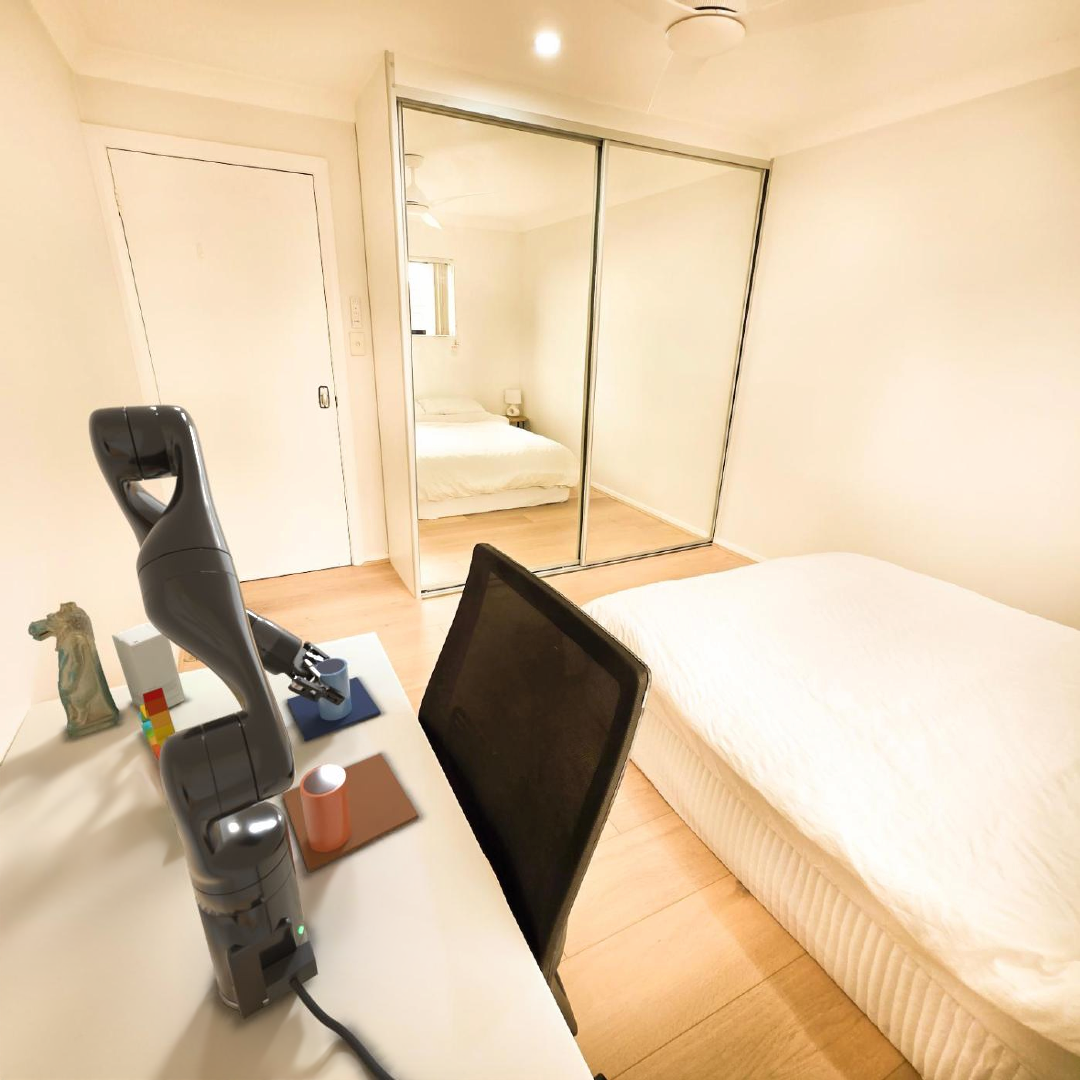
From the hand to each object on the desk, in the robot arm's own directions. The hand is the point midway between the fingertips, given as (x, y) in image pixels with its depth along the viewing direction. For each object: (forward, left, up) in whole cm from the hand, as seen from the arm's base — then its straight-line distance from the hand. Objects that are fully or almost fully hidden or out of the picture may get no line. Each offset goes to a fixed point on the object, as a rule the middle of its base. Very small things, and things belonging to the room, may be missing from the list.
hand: (343, 690), depth 102 cm
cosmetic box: (+23, +30, -5) cm, 38 cm away
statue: (+21, +40, -5) cm, 45 cm away
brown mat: (-24, +7, -5) cm, 25 cm away
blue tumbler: (+1, +2, -4) cm, 5 cm away
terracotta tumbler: (-28, +11, -4) cm, 30 cm away
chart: (-1, +28, -5) cm, 28 cm away
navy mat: (+2, +2, -5) cm, 6 cm away
